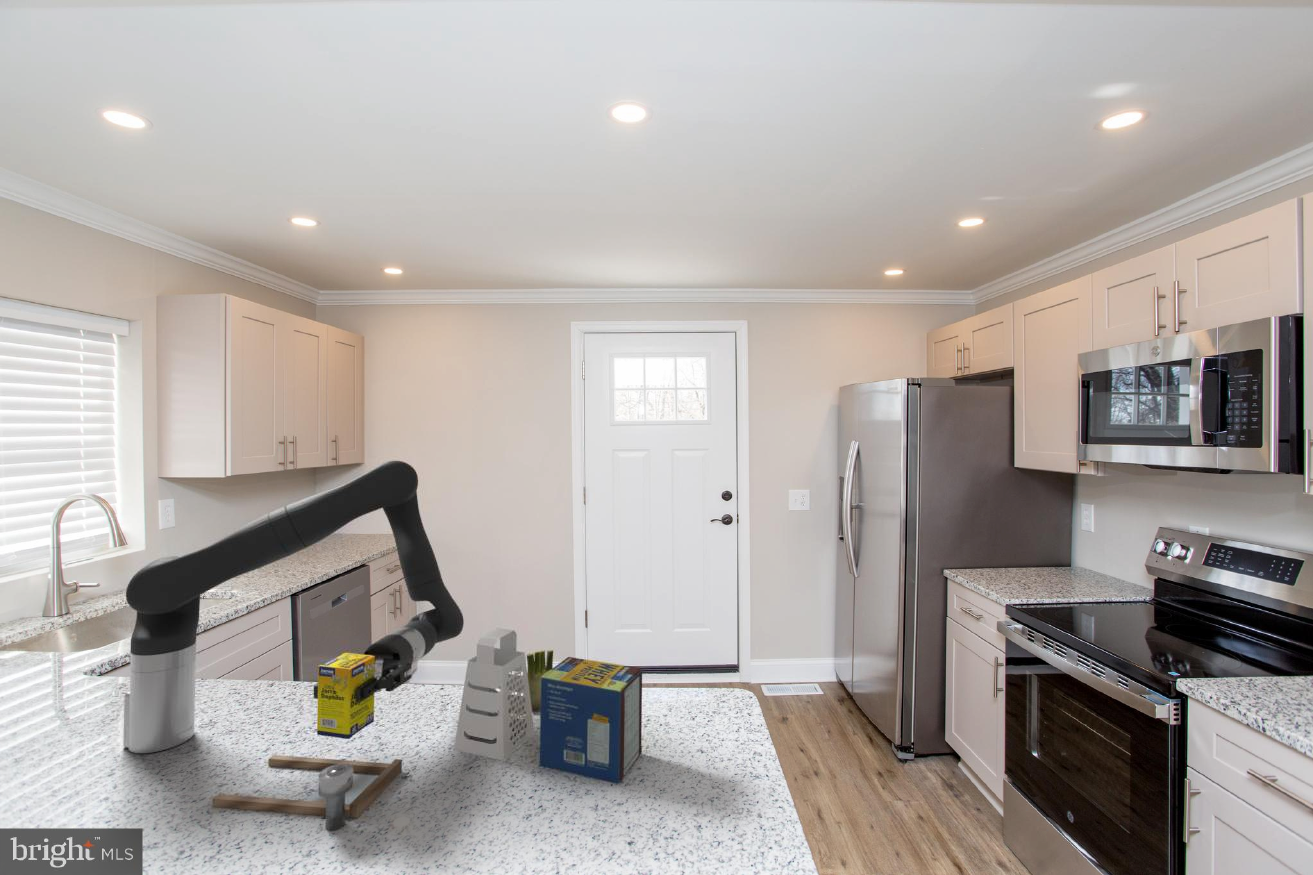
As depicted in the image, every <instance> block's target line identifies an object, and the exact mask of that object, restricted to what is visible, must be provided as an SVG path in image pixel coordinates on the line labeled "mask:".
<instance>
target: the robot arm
mask: <svg viewBox="0 0 1313 875" xmlns="http://www.w3.org/2000/svg"><path fill="white" fill-rule="evenodd" d="M418 486H419V477H418V473H417V471H416V470H415V468H414V467H413V466H412V465H411V464H409V463H407V462H405V461H401V460H390V461H385V462H383V463H381V464H380V465H377V466H375V467H374V468H373V469H371V470H369V471H367V472H365V473H364V474H361V475H360V476H358V477H356V478H354V479H351V480H350V481H347V482H345V483H344V484H342V485H339V486H337V487H334V488H332V489H328V490H324V491H321V492H319V493H317V494H314V495H311V496H309V497H308V496H307V497H305V498H303V499H301V500H298V501H295V502H292V503H290V504H286V505H285V506H283V507H280V508H278V509H275V510H273V511H270V512H269V513H266V514H264V515H262V516H260V517H258V518H256V519H254V520H251V521H250V522H249V523H246V524H244V525H243V526H241V527H239V528H238V529H236V530H234V531H232V532H230V533H229V534H227V535H226V536H224V537H222V538H221V539H219V540H217V541H215V542H214V543H212V544H210V545H207V546H205V547H202V548H200V549H198V550H195V551H191V552H189V553H185V554H183V555H181V556H175V555H172V556H171V555H170V556H164V557H160V558H158V559H155V560H153V561H151V562H149V563H148V564H147V565H145V566H144V567H142V568H140V569H139V570H138V571H137V572H136V573H135V574H134V575H133V576H132V578H131V579H130V581H129V582H128V584H127V587H126V591H125V599H126V602H127V604H128V605H129V606H130V607H131V608H132V610H134V611H135V612H136V620H135V624H134V629H133V632H132V634H131V639H130V659H129V660H130V662H129V664H130V667H129V670H130V674H129V676H130V677H129V691H128V692H126V693H125V694H124V696H123V697H124V702H123V703H124V704H123V705H124V706H123V707H124V708H123V748H128V751H129V752H131V753H134V754H150V753H151V754H152V753H155V752H161V751H164V750H169V749H171V748H174V747H177V746H179V745H182V744H183V743H185V742H187V741H188V740H190V739H191V738H192V737H193V736H194V734H195V711H196V707H195V706H196V674H197V673H196V672H197V671H196V668H197V667H196V664H197V663H196V661H197V658H196V657H197V631H198V626H199V622H200V608H201V607H200V606H201V605H200V604H201V596H202V595H203V594H205V593H207V592H209V591H210V590H212V589H214V588H215V587H217V586H220V585H221V584H224V583H225V582H227V581H229V580H232V579H235V578H237V577H238V576H239V577H240V576H242V575H244V574H247V573H250V572H253V571H255V570H258V569H260V568H263V567H266V566H268V565H270V564H272V563H275V562H277V561H280V560H283V559H285V558H288V557H289V556H292V555H293V554H296V553H299V552H300V551H302V550H305V549H307V548H308V547H311V546H313V545H315V544H317V543H319V542H321V541H323V540H324V539H325V538H327V537H329V536H331V535H332V534H335V532H337V531H338V530H340V529H342V527H344V526H346V525H347V524H349V523H351V522H352V521H354V520H356V519H358V518H360V517H362V516H365V515H368V514H370V513H372V512H375V511H378V510H380V509H383V512H384V514H385V516H386V518H387V521H388V523H389V525H390V529H391V532H392V534H393V538H394V542H395V547H396V551H397V555H398V560H399V563H400V568H401V572H402V574H403V579H404V582H405V585H406V588H407V593H408V596H409V598H410V599H411V601H413V602H428V603H430V604H431V605H432V606H433V607H434V608H432V609H429V610H426V611H422V612H420V613H418V614H416V615H415V616H413V617H412V618H410V620H408V622H407V624H406V625H405V624H404V626H402V627H400V628H399V629H396V630H394V631H392V632H390V633H389V634H386V635H385V636H383V637H382V638H380V639H378V640H377V641H375V642H374V643H372V644H371V645H369V646H368V647H367V648H366V649H365V651H364V653H363V654H362V655H372V656H375V674H374V675H373V678H370V679H368V680H367V681H365V682H364V683H363V684H361V685H360V686H358V687H357V689H356V701H363V700H364V699H365V698H368V697H369V696H370V695H372V694H373V693H374V694H375V693H379V692H381V691H382V690H384V689H385V691H386V692H392V691H394V690H395V689H398V688H399V687H400V686H401V685H403V684H405V683H407V682H408V681H409V680H410V679H412V677H413V676H412V675H413V674H412V673H413V672H412V671H413V667H415V665H416V664H417V663H418V662H419V661H420V660H421V659H423V657H425V656H427V655H428V654H429V653H430V651H432V650H433V648H434V647H435V645H436V644H438V643H441V642H445V641H448V640H452V639H454V638H456V637H458V636H459V635H460V634H461V633H462V632H463V628H464V625H465V624H464V621H465V620H464V617H463V616H464V615H463V613H462V610H461V608H460V607H459V605H458V604H457V603H456V601H455V600H454V598H453V597H452V595H451V593H450V592H449V590H448V589H447V586H446V585H445V583H444V580H443V578H442V574H441V571H440V567H439V565H438V561H437V558H436V554H435V552H434V550H433V547H432V545H431V543H430V541H429V537H428V535H427V533H426V530H425V528H424V527H425V526H424V524H423V520H422V516H421V512H420V508H419V501H418V500H419V499H418V492H417V491H418ZM313 698H314V699H315V700H318V682H317V683H315V684H314V685H313Z"/></svg>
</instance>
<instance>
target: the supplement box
mask: <svg viewBox="0 0 1313 875" xmlns="http://www.w3.org/2000/svg"><path fill="white" fill-rule="evenodd" d="M374 674H375V656H372V655H363V654H360V653H352V652H344V653H342V654H340V655H339V656H337V657H335V658H332V659H330V660H329V661H326V662H325V663H321V664H319V665H318V666H317V683H318V699H317V709H316V710H317V711H316V712H317V715H316V717H317V721H316V723H317V724H316V726H317V728H316V733H317V736H324V737H331V738H338V739H343V740H345V739H346V740H349V739H351V738H353V736H354V735H356V734H357V733H359V732H360V731H362V730H364V729H365V728H366V727H368V726H369V725H371V724H373V723H374V722H375V693H373V694H372V695H370V696H369V697H368V698H365V699H364V700H363V701H356V689H357V687H358V686H360V685H361V684H363V683H364V682H365V681H367V680H368V679H370V678H373V675H374Z"/></svg>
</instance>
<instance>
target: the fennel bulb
mask: <svg viewBox="0 0 1313 875" xmlns="http://www.w3.org/2000/svg"><path fill="white" fill-rule="evenodd" d="M545 652H546V653H545ZM553 659H554V650H553V649H548V650H547V651H546V650H544V649H543V650H539V651H535V652H534V653H533V652H532V653H528V654H526V661H527V662H526V667H527V675H528V683H529V691H530V699H531V707H532V711H541V676H542V675H544V674H545V673H547V672H548V671H550V670H551V669H552V668H554V667H553V666H554V663H553V662H554V660H553Z"/></svg>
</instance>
